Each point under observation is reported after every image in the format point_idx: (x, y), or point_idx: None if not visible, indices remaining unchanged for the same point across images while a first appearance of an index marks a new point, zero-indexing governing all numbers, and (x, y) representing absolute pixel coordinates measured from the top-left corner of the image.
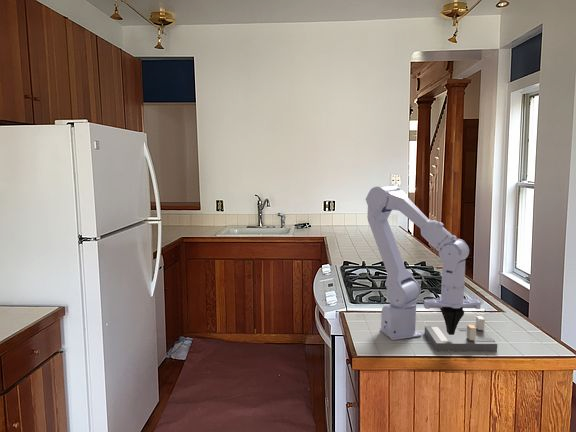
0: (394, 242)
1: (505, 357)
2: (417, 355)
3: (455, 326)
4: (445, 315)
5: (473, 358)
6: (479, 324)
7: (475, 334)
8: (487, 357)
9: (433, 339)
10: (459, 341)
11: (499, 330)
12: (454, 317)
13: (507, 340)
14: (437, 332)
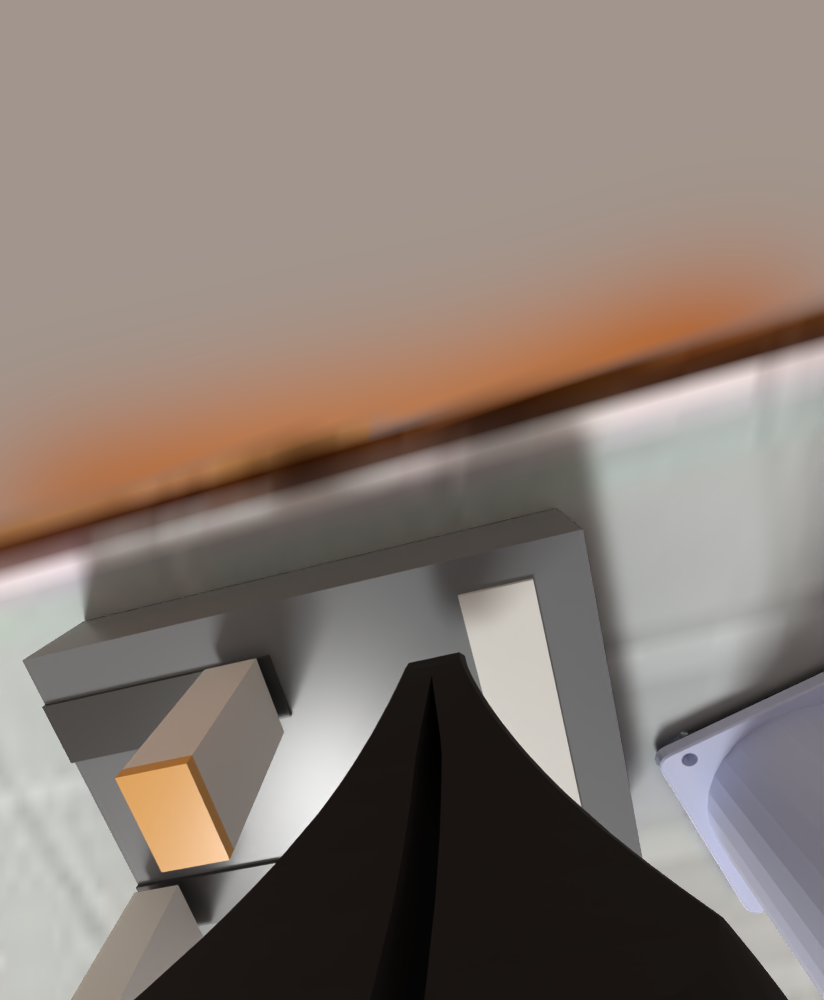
0: None
1: (20, 537)
2: (740, 372)
3: (387, 731)
4: (692, 899)
5: (258, 449)
6: (140, 951)
7: (171, 710)
8: (150, 500)
9: (598, 629)
10: (355, 628)
11: (80, 956)
12: (404, 887)
13: (22, 822)
14: (547, 772)
